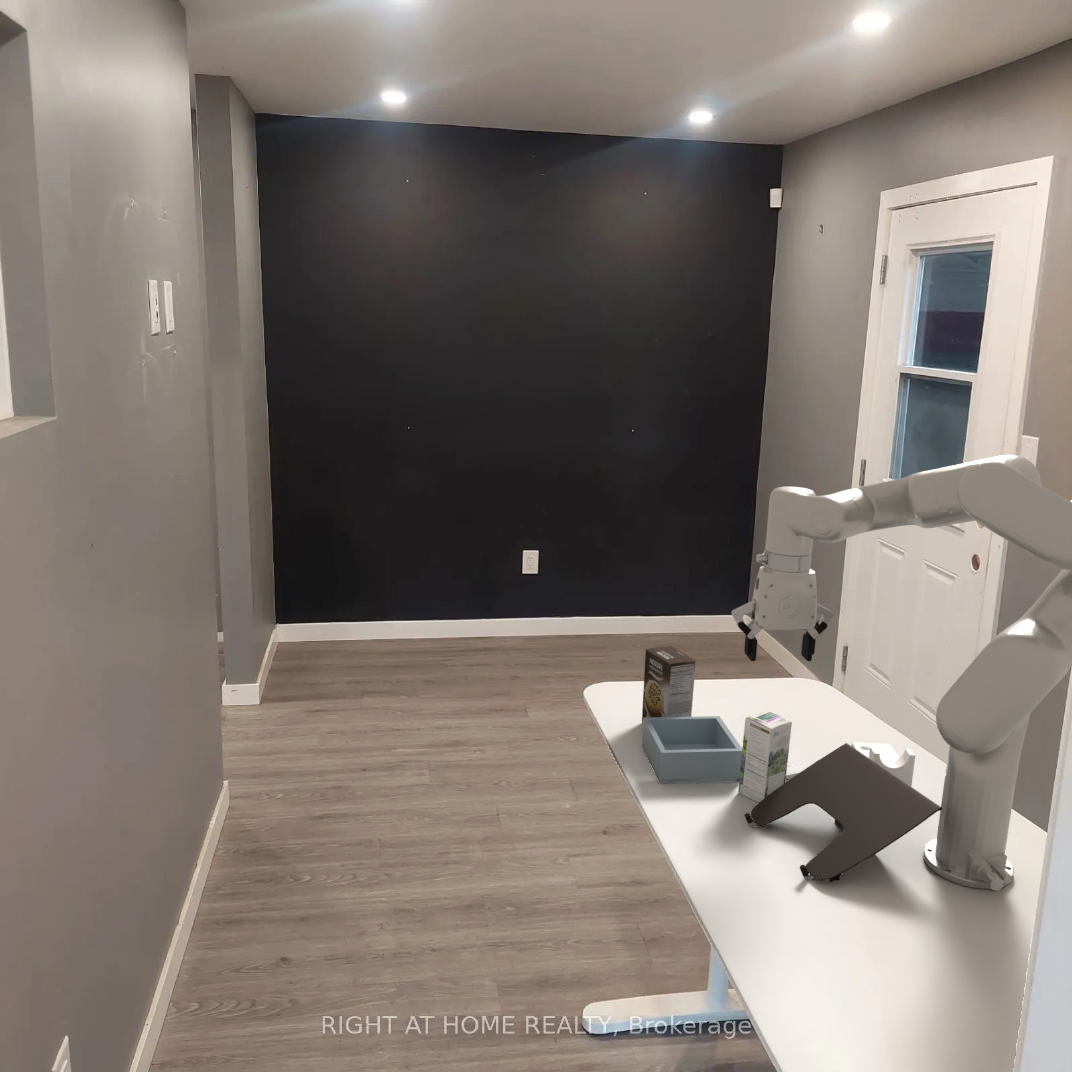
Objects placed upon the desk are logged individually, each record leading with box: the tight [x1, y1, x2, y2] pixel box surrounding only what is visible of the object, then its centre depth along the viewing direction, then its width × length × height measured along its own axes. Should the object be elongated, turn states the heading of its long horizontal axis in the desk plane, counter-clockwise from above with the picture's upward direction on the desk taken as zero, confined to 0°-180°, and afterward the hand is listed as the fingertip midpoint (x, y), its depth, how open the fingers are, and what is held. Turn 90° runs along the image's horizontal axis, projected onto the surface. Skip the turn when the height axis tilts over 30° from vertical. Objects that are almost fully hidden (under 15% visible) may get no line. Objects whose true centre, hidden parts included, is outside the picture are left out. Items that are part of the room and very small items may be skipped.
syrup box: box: [738, 710, 793, 804], centre depth 164 cm, size 6×6×14 cm
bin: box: [641, 715, 743, 784], centre depth 176 cm, size 15×15×6 cm
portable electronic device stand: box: [744, 742, 942, 883], centre depth 151 cm, size 23×23×9 cm
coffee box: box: [641, 645, 697, 724], centre depth 189 cm, size 9×6×16 cm
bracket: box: [851, 741, 916, 787], centre depth 173 cm, size 13×7×8 cm, turn 177°
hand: (778, 658), depth 161 cm, fingers open, 9 cm apart
